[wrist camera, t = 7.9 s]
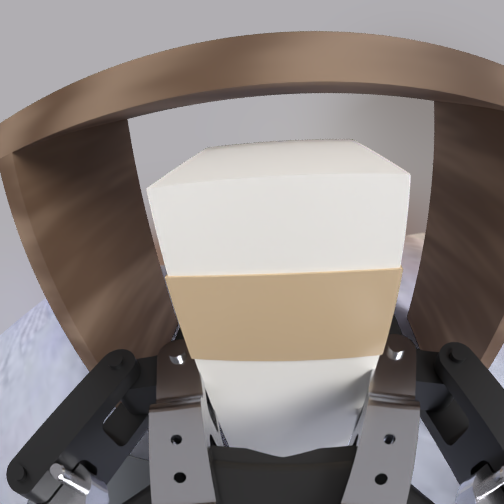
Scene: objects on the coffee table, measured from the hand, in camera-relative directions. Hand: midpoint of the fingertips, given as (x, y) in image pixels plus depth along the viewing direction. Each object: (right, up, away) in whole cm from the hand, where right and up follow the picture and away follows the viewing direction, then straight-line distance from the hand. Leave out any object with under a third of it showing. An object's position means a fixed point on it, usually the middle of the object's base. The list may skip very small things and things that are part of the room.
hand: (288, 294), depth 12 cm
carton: (+1, -8, +1) cm, 8 cm away
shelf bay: (+1, -7, +7) cm, 10 cm away
